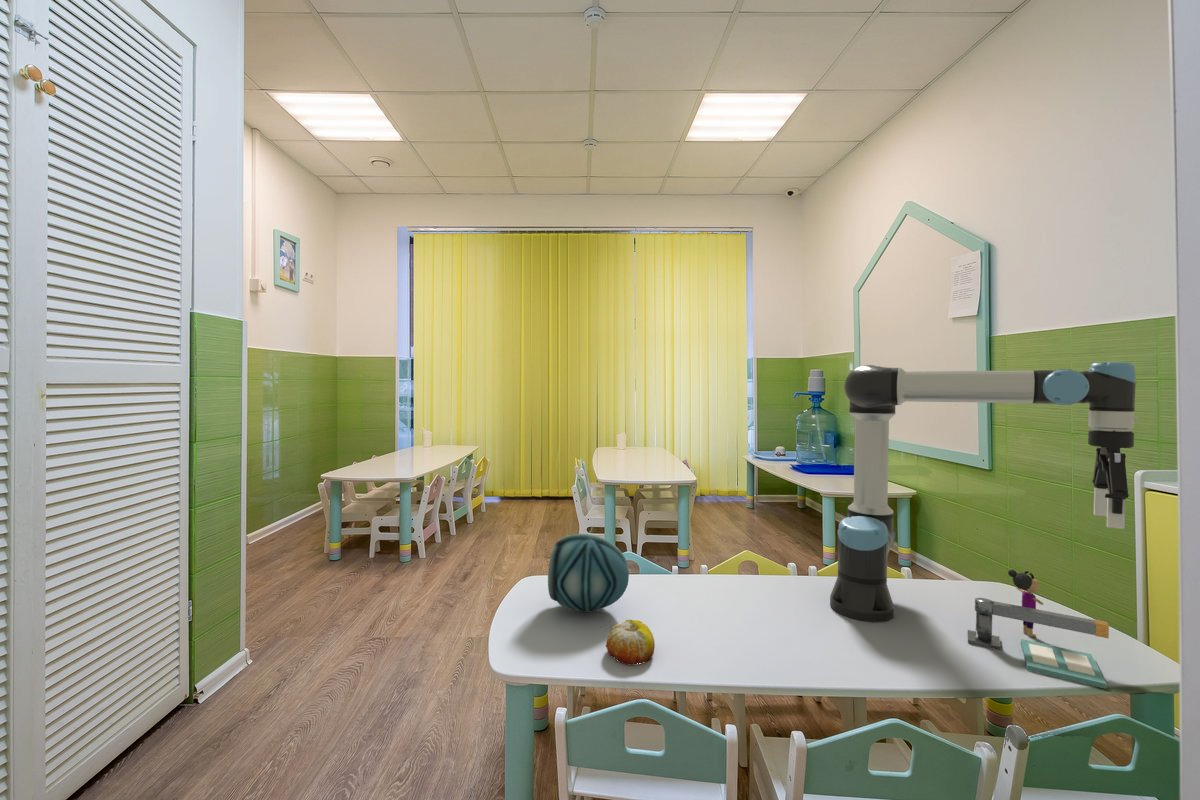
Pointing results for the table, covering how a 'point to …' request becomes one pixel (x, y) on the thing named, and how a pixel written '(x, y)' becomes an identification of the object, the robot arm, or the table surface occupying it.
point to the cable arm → (1043, 617)
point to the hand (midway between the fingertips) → (1108, 521)
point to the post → (984, 633)
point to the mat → (1062, 663)
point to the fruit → (631, 642)
